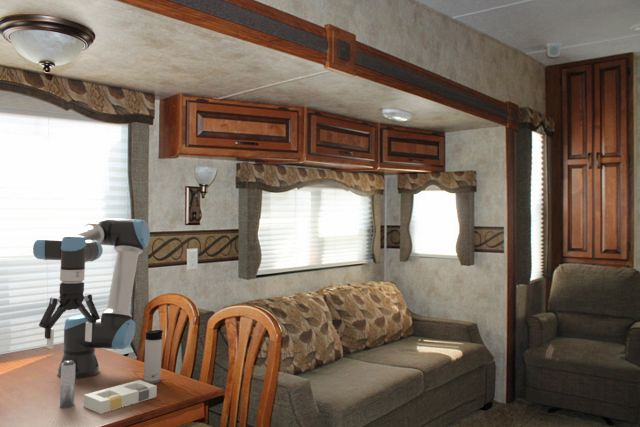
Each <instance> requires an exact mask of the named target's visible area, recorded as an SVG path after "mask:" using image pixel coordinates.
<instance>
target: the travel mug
mask: <svg viewBox="0 0 640 427" xmlns="http://www.w3.org/2000/svg"><path fill="white" fill-rule="evenodd" d="M163 333H164V329H163V330H161V329H156V330H149V331H148V332H145V339H144V340H145V342H144V363H143V364H144V366H143V381H144V382H147V383H150V384H153V385H154V384H158V383H160V382H161V379H162V378H161V377H162V376H161V375H162V372H161V371H162V354H163V352H162V348H163Z"/></svg>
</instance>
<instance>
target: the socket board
mask: <svg viewBox="0 0 640 427" xmlns="http://www.w3.org/2000/svg"><path fill="white" fill-rule="evenodd" d="M157 388H158V386H157V385H156V384H154V383H153V384H150V383H147V382H144V380H142V379H138V380H134V381H131V382H126V383H122V384H119V385H115V386H111V387H108V388H104V389H101V390H96V391H93V392H89V393H85V394H83V408H86V409H88V410H91V411H93V412H95V413H97V414H101V415H102V414H105V413H104V412H106V413H108V411H109V412H111V410H112V411H115V410H118V408H119V409H121V407H122V408H125V407H127V406H131V404H132V405H135V404H138V403H141V402H144V401H147V400H151V399H154V398H157V392H158V391H157V390H158V389H157ZM124 406H125V407H124Z"/></svg>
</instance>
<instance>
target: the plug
mask: <svg viewBox="0 0 640 427" xmlns="http://www.w3.org/2000/svg"><path fill="white" fill-rule="evenodd" d="M75 368H76V363H74V361H72V360H68V361H64V362H63V364H61V377H60V389H59V390H60V391H59V407H60V408H63V409H64V408H65V409H67V408H71V407H73V406H75V388H76V378H75Z"/></svg>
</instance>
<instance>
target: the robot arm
mask: <svg viewBox="0 0 640 427" xmlns="http://www.w3.org/2000/svg"><path fill="white" fill-rule="evenodd" d="M150 243H151V233H150V227H149V224H148V223H147V222H146V220H144V219H137V218H130V219H129V218H116V217H113V218H111V217H110V218H109V217H108V218H103V219H100V220H96V221H92V222H89V223H86V224H85V225H84V226H83V228H79V229H76V230H74V231H71V232H67V233H64V234H61V235H59V236H55V237H52V238H47V237H44V238H37V239H36V240H35V242H34V244H33V245H32V246H33V247H32V249H33V250H32V253H33V256H34V257H35V258H36V259H37V260H44V261H60V273H59V281H60V283H59V297H50V298H49V303H48V306H47V307H46V310H45V312H44V314H43V316H42V317H41V320H40V322H39V324H38V327H40V328H43V329H44V338H45V339H46V348H47V349H50V350H53V349H54V340H55V339H54V338H55V336H54V335H55V329H54V328H53V327H54V326H55V324H56V323H57V322H58V321H59V319H60V318H61V316H63V314H64V313H65V312H66V311H70V310H71V311H72V310H78V311H79V312H80V313H81V314H76V315H72V316H70V317H67V318H66V319H65V320H64V328H63V353H62V357H61V360H60V363H59V365H58V368H57V376H58V377H60V378H61V364H63V362H64V361H68V360H72V361H74V363H76V368H75V379H82V378H89V377H92V376H95V375H97V374H98V373H99V372H100V365H99V362H98V359H97V355H96V349H107V350H108V349H109V350H125V349H127V348H128V347H129V346H130V344H132V341H133V339H134V337H135V332H136V322H135V320H133V319H132V318H133V316H132V314H131V313H130V307H131V300H132V296H133V289H134V282H135V278H136V273H137V272H136V271H137V267H138V266H137V265H138V259H139V256H140V255H141V254H143V252H144V248H147V247H149V244H150ZM103 246H113V250H114V251H115V252H116V256H115V257H116V258H115V263H114V268H113V272H112V280H111V284H110V289H109V296H108V299H107V306H106V309H105V310H104V311H103V312H102V313H101V317H100V315H99V313H98V311H97V308H96V305H95V303H94V301H93V294H92V293H91V294H90V293H85V294H84V292H85V282H84V281H85V270H86V269H85V268H86V263H88V262H93V261H96V260H98V259H100V257H102V254H103ZM83 301H85V304H86V306H85V304H84V303H83ZM58 304H59V305H58ZM57 305H58V306H57ZM86 307H87V308H88V310H87V308H86Z"/></svg>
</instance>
